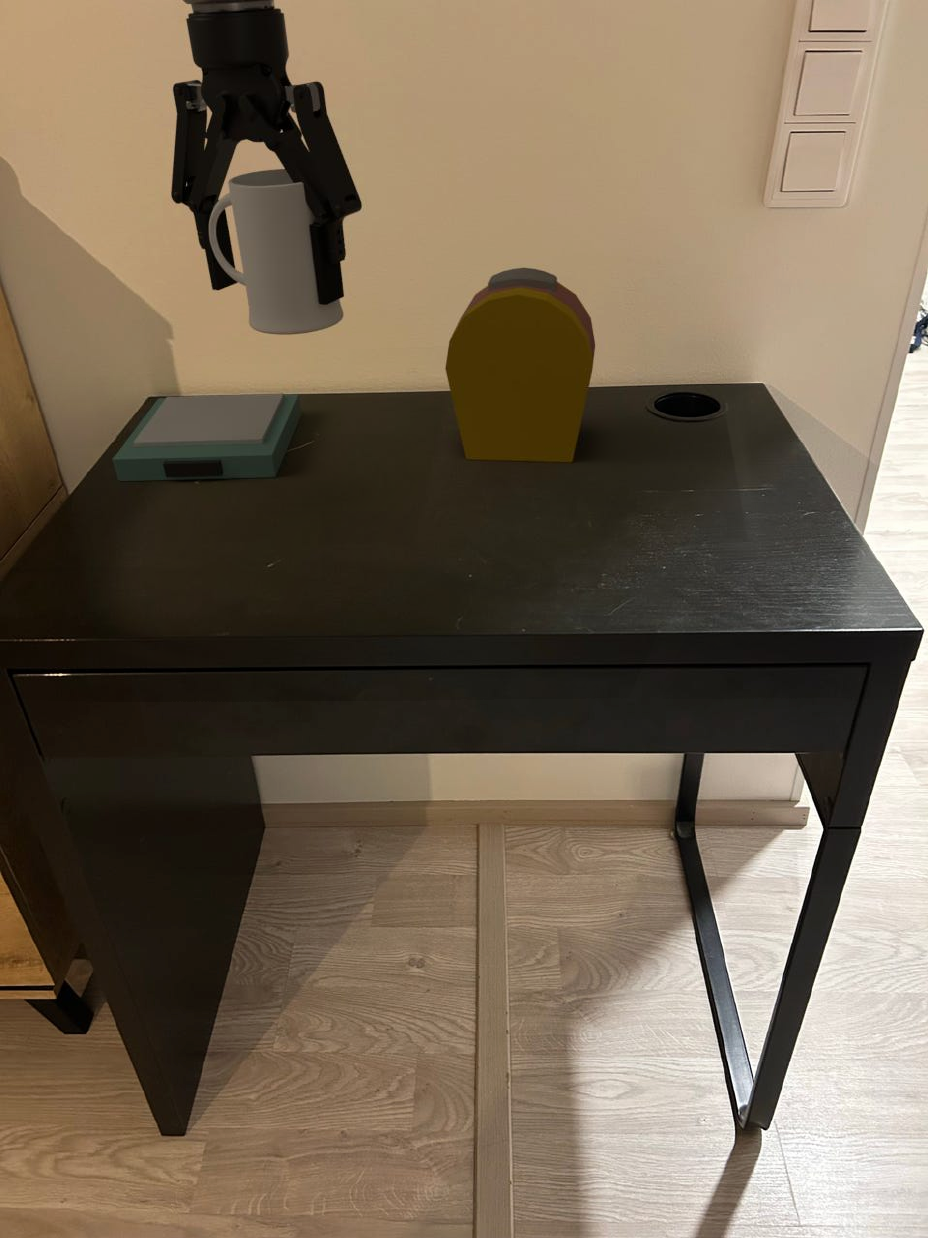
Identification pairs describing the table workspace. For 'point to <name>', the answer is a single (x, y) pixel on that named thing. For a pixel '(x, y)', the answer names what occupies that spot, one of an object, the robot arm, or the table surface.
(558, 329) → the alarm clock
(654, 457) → the table surface
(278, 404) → the scale
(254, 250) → the mug
